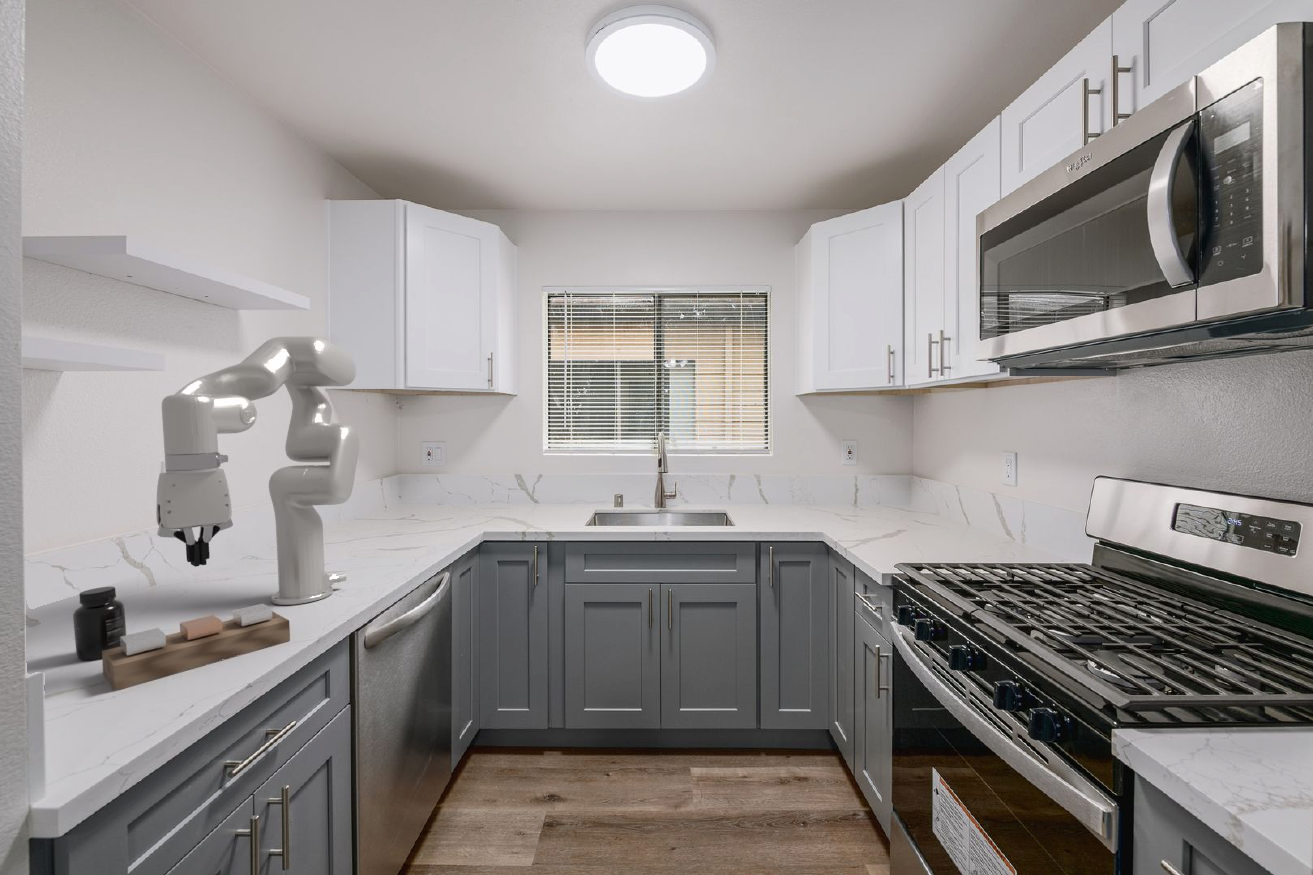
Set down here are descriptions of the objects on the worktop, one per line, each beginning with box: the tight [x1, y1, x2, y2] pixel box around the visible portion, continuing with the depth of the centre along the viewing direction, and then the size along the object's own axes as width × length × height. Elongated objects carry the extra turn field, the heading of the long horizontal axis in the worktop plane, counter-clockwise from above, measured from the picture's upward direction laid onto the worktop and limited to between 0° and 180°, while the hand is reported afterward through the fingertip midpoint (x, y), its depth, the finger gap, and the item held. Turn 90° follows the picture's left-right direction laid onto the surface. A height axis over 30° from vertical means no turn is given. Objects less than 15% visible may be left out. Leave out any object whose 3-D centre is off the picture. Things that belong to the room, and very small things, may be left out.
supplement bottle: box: [72, 586, 127, 662], centre depth 107 cm, size 7×7×12 cm
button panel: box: [102, 610, 291, 692], centre depth 105 cm, size 25×10×4 cm, turn 142°
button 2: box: [232, 603, 273, 626], centre depth 111 cm, size 5×5×6 cm
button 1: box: [120, 627, 166, 656], centre depth 99 cm, size 5×5×6 cm
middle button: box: [179, 614, 223, 640], centre depth 105 cm, size 5×5×6 cm
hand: (198, 564), depth 105 cm, fingers closed
